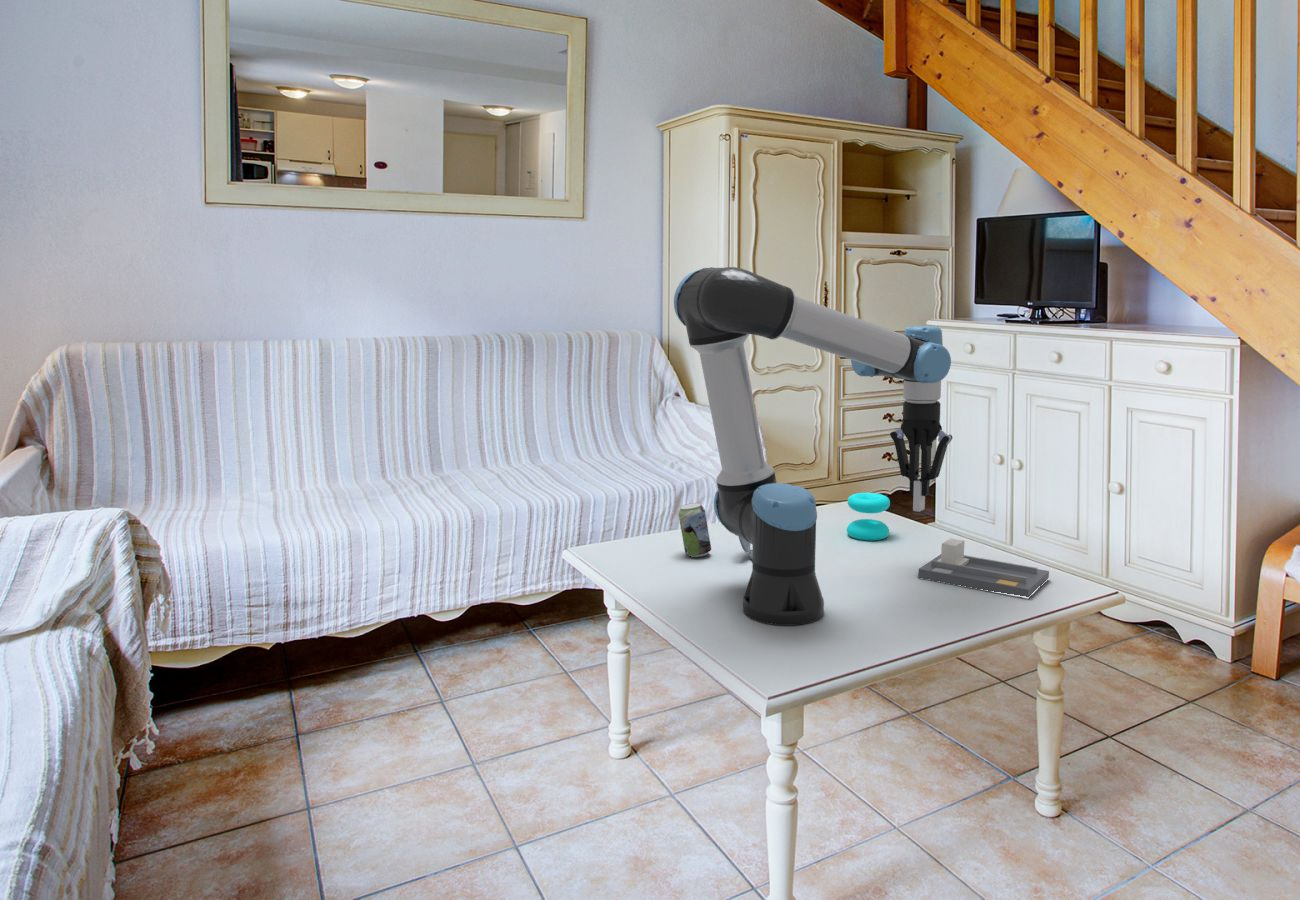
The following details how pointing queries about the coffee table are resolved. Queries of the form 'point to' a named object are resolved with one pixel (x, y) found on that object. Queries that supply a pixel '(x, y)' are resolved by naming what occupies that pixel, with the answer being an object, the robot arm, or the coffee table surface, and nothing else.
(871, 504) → the donuts
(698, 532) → the beverage can
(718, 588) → the coffee table surface
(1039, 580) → the switch panel
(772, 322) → the robot arm
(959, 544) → the switch tab
